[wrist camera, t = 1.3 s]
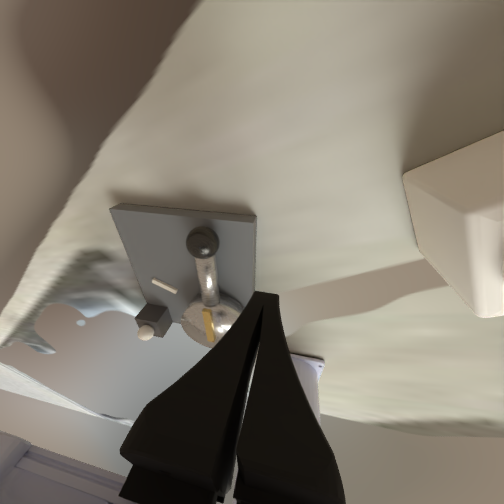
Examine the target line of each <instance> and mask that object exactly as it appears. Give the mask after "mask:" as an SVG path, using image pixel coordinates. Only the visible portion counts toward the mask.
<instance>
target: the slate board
mask: <svg viewBox="0 0 504 504" xmlns="http://www.w3.org/2000/svg"><path fill="white" fill-rule="evenodd" d="M109 210H110V213H111V215H112V218H113V220H114V223H115V225H116V228H117V230H118V233H119V235H120V238H121V240H122V242H123V245H124V247H125V250H126V252H127V255H128V257H129V260H130V262H131V265H132V267H133V270H134V272H135V275H136V277H137V280H138V282H139V285H140V287H141V290H142V292H143V295H144V297H145V300H146V302H147V304H153V305H158V306H164V307H168V309H169V312H170V315H171V318H172V321H173V322H175V323H180V324H181V317H182V315H183V313H184V312H185V310H186V308H187V307H188V305H189V303H190V302H191V300H192V299H193V297H194V296H195V295H197V294H199V293H201V291H200V285H199V280H198V274H197V269H196V263H195V258H194V257H193V256H192V255H191V254H190V253H189V252H188V250H187V248H186V237H187V235H188V233H189V232H190V231H191V230H192V229H194V228H196V227H199V226H206V227H209V228H211V229H213V230H214V231H215V232H216V233H217V235H218V237H219V240H220V246H219V249H218V251H217V253H216V254H215V257H216V266H217V275H218V284H219V293H223V294H225V295H228V296H230V297H232V298H233V299H235V300H236V301H237V302H239V303H240V304H241V305H242V307H243V308H245V307H246V305H247V303H248V302H249V300H250V298H251V296H252V294H253V292H255V262H256V221H257V216H251V215H240V214H229V213H218V212H207V211H197V210H186V209H175V208H164V207H153V206H143V205H132V204H118V205H116V206H114V207H112V208H110V209H109Z"/></svg>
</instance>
